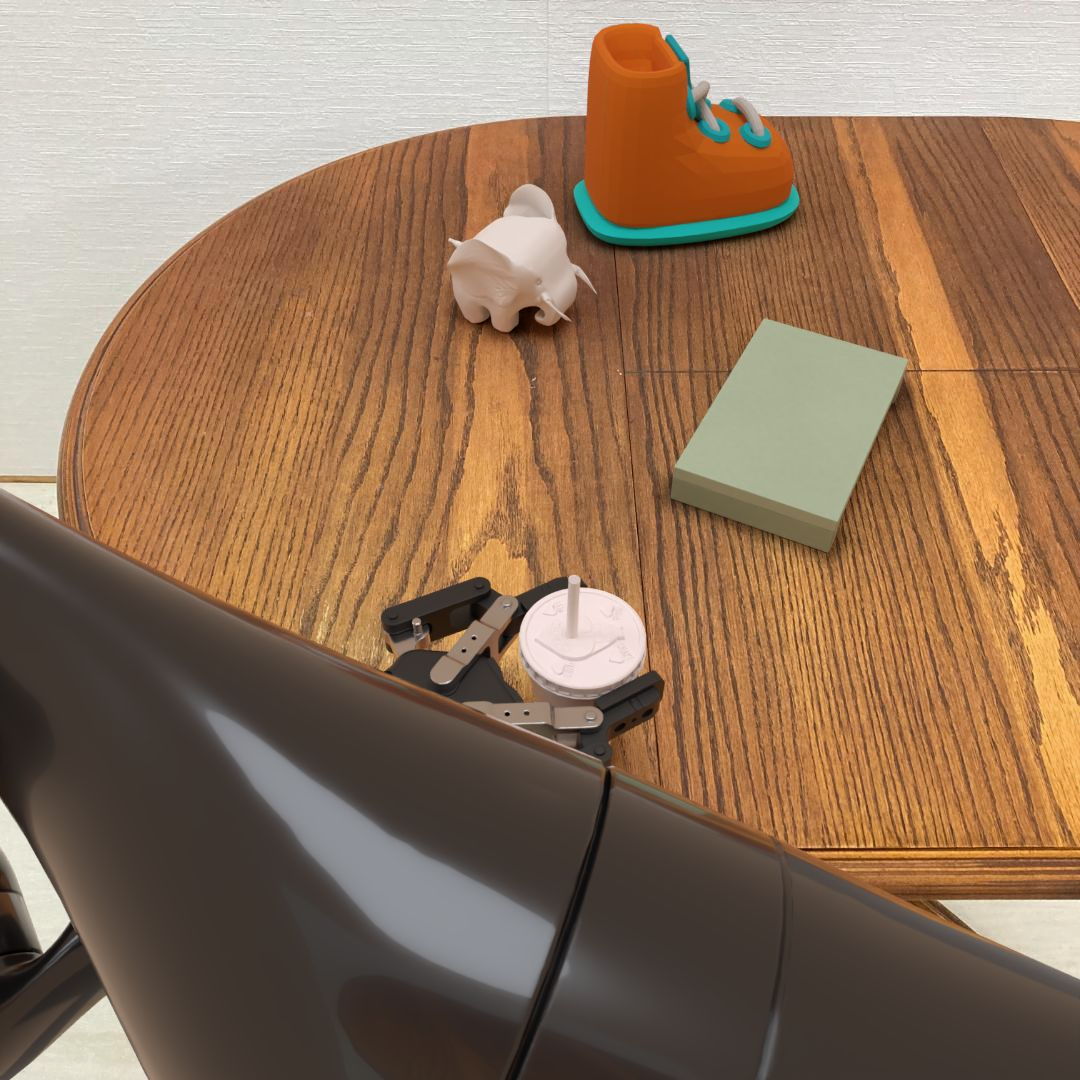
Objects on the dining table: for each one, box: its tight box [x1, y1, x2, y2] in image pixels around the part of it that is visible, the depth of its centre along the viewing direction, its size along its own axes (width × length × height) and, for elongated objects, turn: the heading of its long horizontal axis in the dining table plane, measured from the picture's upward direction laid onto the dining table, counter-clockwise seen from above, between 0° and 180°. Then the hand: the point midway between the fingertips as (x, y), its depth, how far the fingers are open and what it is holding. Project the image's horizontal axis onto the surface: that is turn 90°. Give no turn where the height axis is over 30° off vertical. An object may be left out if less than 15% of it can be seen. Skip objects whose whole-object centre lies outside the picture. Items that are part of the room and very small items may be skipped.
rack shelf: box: [670, 317, 910, 554], centre depth 77 cm, size 18×11×3 cm, turn 153°
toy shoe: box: [573, 22, 800, 247], centre depth 93 cm, size 12×20×15 cm, turn 103°
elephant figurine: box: [445, 183, 598, 333], centre depth 85 cm, size 10×12×9 cm
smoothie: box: [518, 574, 647, 745], centre depth 57 cm, size 6×6×14 cm
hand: (619, 636), depth 57 cm, fingers closed on smoothie, 6 cm apart
